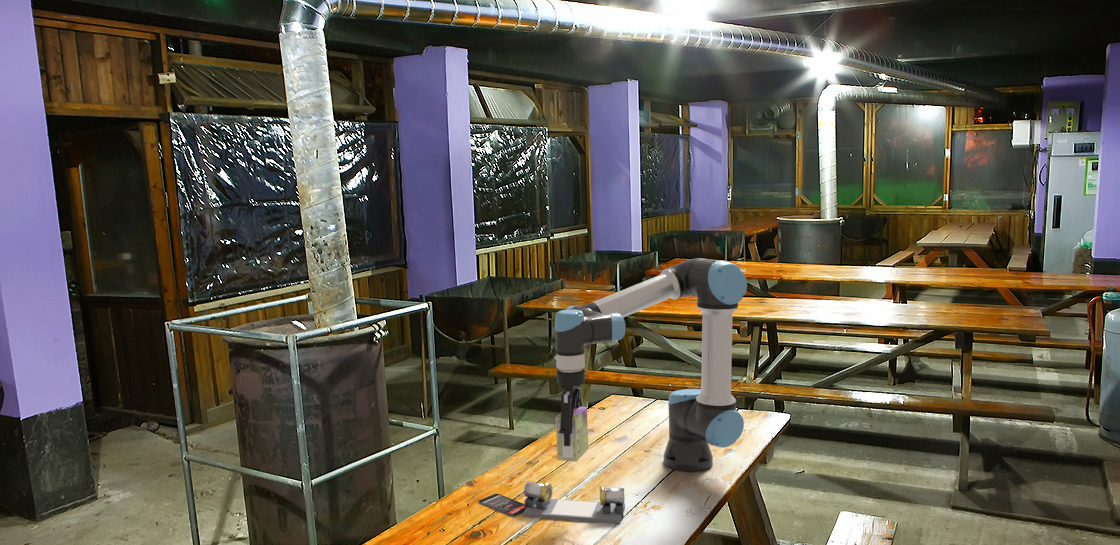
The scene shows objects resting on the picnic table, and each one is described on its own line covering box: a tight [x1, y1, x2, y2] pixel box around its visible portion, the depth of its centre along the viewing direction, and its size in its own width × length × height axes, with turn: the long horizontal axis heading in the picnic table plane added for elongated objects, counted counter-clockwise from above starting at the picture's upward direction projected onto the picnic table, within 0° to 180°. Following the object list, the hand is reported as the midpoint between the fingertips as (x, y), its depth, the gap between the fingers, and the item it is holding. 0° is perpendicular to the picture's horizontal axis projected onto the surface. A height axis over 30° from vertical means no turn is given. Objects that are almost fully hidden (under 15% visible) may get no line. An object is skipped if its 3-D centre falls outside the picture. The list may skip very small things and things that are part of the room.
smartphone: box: [477, 493, 525, 518], centre depth 211 cm, size 7×1×15 cm
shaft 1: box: [523, 481, 553, 510], centre depth 208 cm, size 6×5×7 cm
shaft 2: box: [599, 486, 625, 519], centre depth 204 cm, size 6×5×7 cm
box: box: [555, 406, 589, 463], centre depth 203 cm, size 10×6×12 cm, turn 161°
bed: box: [522, 498, 626, 525], centre depth 206 cm, size 26×10×1 cm, turn 77°
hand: (572, 449), depth 204 cm, fingers closed on box, 11 cm apart
